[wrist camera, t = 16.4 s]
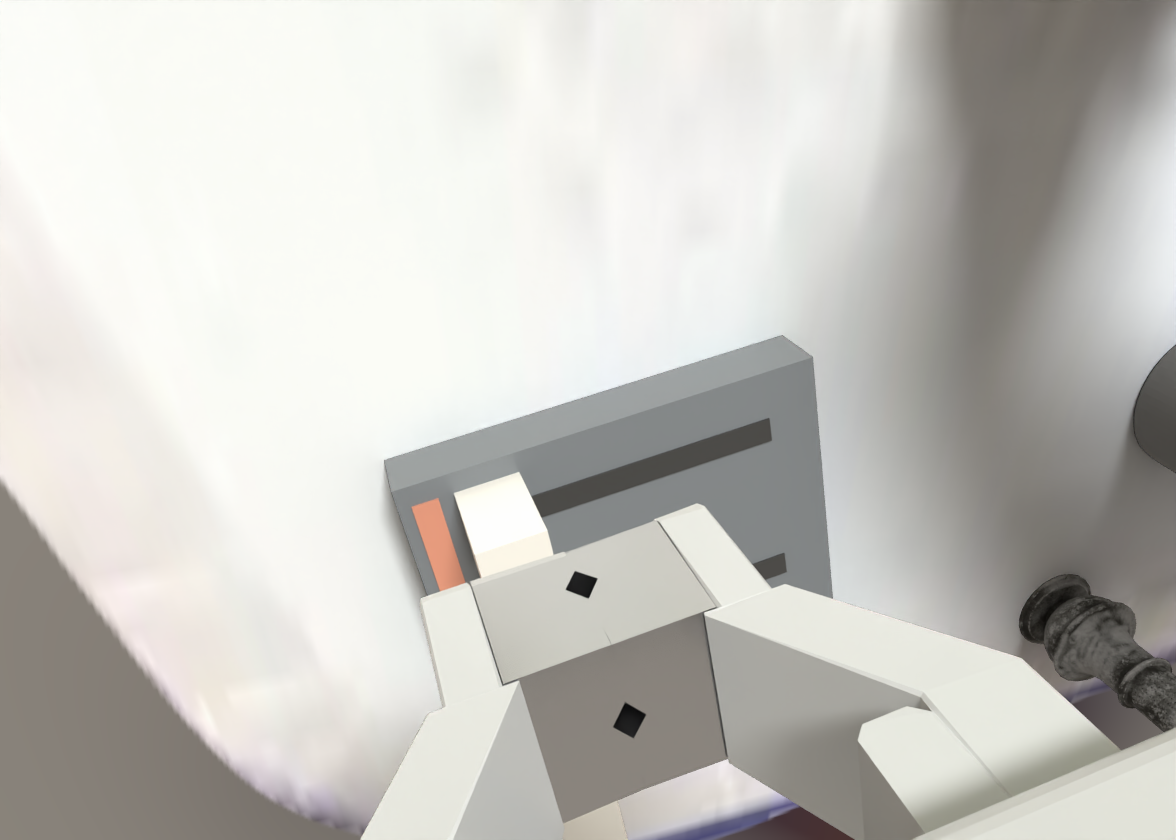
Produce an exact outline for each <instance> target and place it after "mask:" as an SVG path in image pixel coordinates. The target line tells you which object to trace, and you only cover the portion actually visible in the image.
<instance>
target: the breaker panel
mask: <svg viewBox="0 0 1176 840" xmlns="http://www.w3.org/2000/svg"><path fill="white" fill-rule="evenodd" d="M384 462H385V466H386V471H387V475H388V480H389V484H390V489H391V493H392V496H393V499H394V501H395V504H396V507H397V510H398V513H399V516H400V519H401V521H402V524H403V527H404V530H405V533H406V536H407V539H408V541H409V544H410V547H411V550H412V553H413V556H414V559H415V561H416V564H417V567H418V570H419V573H420V576H421V579H422V581H423V584H424V587H425V590H426V593H427V596H428V595H431V594H434V593H437V592H440V591H443V590H446V589H449V588H452V587H455V586H458V585H461V584H464V583H468V584H469V585H470V586H471V583H470V581H473V580H476V579H479V578H482V577H486V576H489V575H492V574H495V573H498V572H501V571H504V570H508V569H511V568H514V567H517V566H520V565H523V564H526V563H530V562H533V561H536V560H539V559H542V558H545V557H548V556H552V555H555V554H558V553H561V552H567V551H570V550H573V549H576V548H579V547H581V546H584V545H587V544H590V543H593V542H596V541H598V540H601V539H604V538H607V537H610V536H613V535H616V534H618V533H621V532H624V531H627V530H630V529H633V528H635V527H638V526H641V525H644V524H647V523H650V522H652V521H653V520H654V519H657V518H659V517H662V516H665V515H667V514H670V513H673V512H675V511H678V510H681V509H683V508H686V507H689V506H691V505H694V504H696V503H698V504H700V505H703V506H705V507H706V508H707V510H708V511H709V512H710V513H711V514H712V516H713V517H714V518H715V519H716V521H717V522H718V523H719V524H720V526H721V527H722V528H723V529H724V530H725V532H726V533H727V534H728V535H729V537H730V538H731V539H732V540H733V541H734V543H735V544H736V545H737V546H738V548H739V549H740V550H741V551H742V553H743V554H744V555H745V556H746V557H747V559H748V560H749V561H750V562H751V564H752V565H753V566H754V567H755V568H756V570H757V571H758V572H759V573H760V575H761V576H762V577H763V578H764V580H765V581H766V582H767V583H768V584H769V586H770V587H771V588H775V587H778V586H781V585H783V584H787V585H790V586H793V587H797V588H800V589H803V590H806V591H809V592H813V593H816V594H819V595H822V596H825V597H828V598H832V599H833V594H832V582H831V570H830V558H829V546H828V534H827V522H826V510H825V498H824V486H823V474H822V462H821V450H820V438H819V426H818V414H817V402H816V390H815V378H814V366H813V357H812V356H810V355H809V354H808V353H806V352H805V351H804V350H802V349H801V348H799V347H798V346H797V345H795V344H794V343H793V342H791V341H790V340H788V339H787V338H786V337H784V336H783V335H782V336H778V337H775V338H772V339H769V340H766V341H763V342H759V343H756V344H753V345H750V346H747V347H743V348H740V349H737V350H734V351H731V352H728V353H724V354H721V355H718V356H715V357H712V358H708V359H705V360H702V361H699V362H696V363H692V364H689V365H686V366H683V367H680V368H677V369H673V370H670V371H667V372H664V373H661V374H657V375H654V376H651V377H648V378H645V379H641V380H638V381H635V382H632V383H629V384H626V385H622V386H619V387H616V388H613V389H610V390H606V391H603V392H600V393H597V394H594V395H591V396H587V397H584V398H581V399H578V400H575V401H571V402H568V403H565V404H562V405H559V406H555V407H552V408H549V409H546V410H543V411H540V412H536V413H533V414H530V415H527V416H524V417H520V418H517V419H514V420H511V421H508V422H505V423H501V424H498V425H495V426H492V427H489V428H485V429H482V430H479V431H476V432H473V433H469V434H466V435H463V436H460V437H457V438H454V439H450V440H447V441H444V442H441V443H438V444H434V445H431V446H428V447H425V448H422V449H419V450H415V451H412V452H409V453H406V454H403V455H399V456H396V457H393V458H390V459H387V460H384ZM471 589H472V586H471ZM472 592H473V590H472ZM473 596H474V593H473ZM474 599H475V596H474ZM475 602H476V600H475ZM476 605H477V603H476ZM477 608H478V606H477ZM478 611H479V609H478ZM479 614H480V612H479ZM480 617H481V615H480ZM481 620H482V619H481ZM482 623H483V622H482ZM483 626H484V625H483ZM484 629H485V628H484ZM485 632H486V631H485ZM486 636H487V634H486ZM487 639H488V638H487ZM488 642H489V641H488ZM489 645H490V644H489ZM490 648H491V647H490ZM491 651H492V650H491ZM563 825H564V828H565V829H564V833H563V837H562V840H628V838H627V835H626V831H625V827H624V823H623V819H622V815H621V811H620V808H619V804H618V800H617V801H615V802H613V803H610V804H608V805H606V806H603V807H601V808H598V809H596V810H594V811H591V812H589V813H587V814H584V815H582V816H580V817H577V818H575V819H573V820H570V821H568V822H566V823H563Z"/></svg>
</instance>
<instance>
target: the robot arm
mask: <svg viewBox="0 0 1176 840" xmlns="http://www.w3.org/2000/svg"><path fill="white" fill-rule="evenodd" d="M470 583H471V586H472V589H471V586H470V585H469V584H468V583H464V584H461V585H458V586H455V587H452V588H449V589H446V590H443V591H440V592H437V593H434V594H431V595H428V596H425V597H423V598H421V599H420V610H421V615H422V619H423V624H424V628H425V632H426V637H427V641H428V646H429V650H430V655H431V659H432V663H433V668H434V672H435V677H436V681H437V686H438V690H439V695H440V699H441V703H442V708H441V709H439V710H436V711H433V712H431V713H429V714H427V716H426V718H425V720H424V722H423V723H422V725H421V727H420V729H419V731H418V733H417V735H416V737H415V738H414V740H413V742H412V744H411V746H410V748H409V750H408V751H407V753H406V755H405V757H404V759H403V761H402V763H401V764H400V766H399V768H398V770H397V772H396V774H395V776H394V777H393V779H392V781H391V783H390V785H389V787H388V789H387V791H386V792H385V794H384V796H383V798H382V800H381V802H380V804H379V805H378V807H377V809H376V811H375V813H374V815H373V817H372V818H371V820H370V822H369V824H368V826H367V828H366V830H365V832H364V833H363V835H362V837H361V839H360V840H562V837H563V833H564V829H565V828H564V825H563V823H566V822H568V821H570V820H573V819H575V818H577V817H580V816H582V815H584V814H587V813H589V812H591V811H594V810H596V809H598V808H601V807H603V806H606V805H608V804H610V803H613V802H615V801H617V800H620V799H622V798H624V797H627V796H629V795H631V794H634V793H636V792H638V791H641V790H643V789H645V788H649V787H651V786H654V785H657V784H660V783H662V782H665V781H668V780H671V779H673V778H676V777H679V776H682V775H684V774H687V773H690V772H693V771H696V770H698V769H701V768H704V767H707V766H709V765H712V764H715V763H718V762H720V761H723V760H726V759H728V760H729V763H730V764H732V765H733V766H735V767H737V768H738V769H740V770H742V771H743V772H745V773H747V774H748V775H750V776H751V777H753V778H755V779H756V780H758V781H760V782H761V783H763V784H765V785H766V786H768V787H770V788H771V789H773V790H774V791H776V792H778V793H779V794H781V795H783V796H784V797H786V798H788V799H789V800H791V801H793V802H794V803H796V804H798V805H799V806H801V807H803V808H804V809H806V810H807V811H809V812H811V813H812V814H814V815H816V816H817V817H819V818H821V819H822V820H824V821H825V822H827V823H829V824H830V825H832V826H834V827H835V828H837V829H839V830H840V831H842V832H844V833H845V834H847V835H849V836H850V837H852V838H853V839H855V840H1176V728H1173V729H1171V730H1169V731H1166V732H1164V733H1162V734H1159V735H1157V736H1155V737H1152V738H1150V739H1147V740H1145V741H1143V742H1140V743H1138V744H1136V745H1133V746H1131V747H1129V748H1126V749H1124V750H1120V749H1119V748H1118V747H1117V746H1116V745H1115V744H1114V743H1112V741H1110V740H1109V739H1108V738H1107V737H1106V736H1105V735H1104V734H1103V733H1102V732H1101V731H1099V729H1097V728H1096V727H1095V726H1094V725H1093V724H1092V723H1091V722H1090V721H1089V720H1088V719H1087V718H1085V716H1083V715H1082V714H1081V713H1080V712H1079V711H1078V710H1077V709H1076V708H1075V707H1074V706H1073V705H1072V704H1070V703H1069V702H1068V701H1067V700H1066V699H1065V698H1064V697H1063V696H1062V695H1061V694H1060V693H1059V692H1058V691H1056V690H1055V689H1054V688H1053V687H1052V686H1051V685H1050V684H1049V683H1048V682H1047V681H1046V680H1045V679H1043V678H1042V677H1041V676H1040V675H1039V674H1038V673H1037V672H1036V671H1035V670H1034V669H1033V668H1032V667H1030V666H1029V665H1028V664H1027V663H1026V662H1025V661H1024V660H1023V659H1022V658H1020V657H1017V656H1013V655H1010V654H1007V653H1004V652H1001V651H997V650H994V649H991V648H988V647H985V646H982V645H978V644H975V643H972V642H969V641H966V640H962V639H959V638H956V637H953V636H950V635H946V634H943V633H940V632H937V631H934V630H931V629H927V628H924V627H921V626H918V625H915V624H911V623H908V622H905V621H902V620H899V619H895V618H892V617H889V616H886V615H883V614H879V613H876V612H873V611H870V610H867V609H864V608H860V607H857V606H854V605H851V604H848V603H844V602H841V601H838V600H835V599H832V598H828V597H825V596H822V595H819V594H816V593H813V592H809V591H806V590H803V589H800V588H797V587H793V586H790V585H787V584H783V585H781V586H778V587H775V588H771V587H770V586H769V584H768V583H767V582H766V581H765V580H764V578H763V577H762V576H761V575H760V573H759V572H758V571H757V570H756V568H755V567H754V566H753V565H752V564H751V562H750V561H749V560H748V559H747V557H746V556H745V555H744V554H743V553H742V551H741V550H740V549H739V548H738V546H737V545H736V544H735V543H734V541H733V540H732V539H731V538H730V537H729V535H728V534H727V533H726V532H725V530H724V529H723V528H722V527H721V526H720V524H719V523H718V522H717V521H716V519H715V518H714V517H713V516H712V514H711V513H710V512H709V511H708V510H707V508H706V507H705V506H703V505H700V504H698V503H696V504H694V505H691V506H689V507H686V508H683V509H681V510H678V511H675V512H673V513H670V514H667V515H665V516H662V517H659V518H657V519H654V520H653V521H652V522H650V523H647V524H644V525H641V526H638V527H635V528H633V529H630V530H627V531H624V532H621V533H618V534H616V535H613V536H610V537H607V538H604V539H601V540H598V541H596V542H593V543H590V544H587V545H584V546H581V547H579V548H576V549H573V550H570V551H567V552H561V553H558V554H555V555H552V556H548V557H545V558H542V559H539V560H536V561H533V562H530V563H526V564H523V565H520V566H517V567H514V568H511V569H508V570H504V571H501V572H498V573H495V574H492V575H489V576H486V577H482V578H479V579H476V580H473V581H470ZM472 590H473V592H472ZM473 593H474V596H475V599H474V596H473ZM475 600H476V602H475ZM476 603H477V605H476ZM477 606H478V608H477ZM478 609H479V611H478ZM479 612H480V614H479ZM480 615H481V617H480ZM481 619H482V620H481ZM482 622H483V623H482ZM483 625H484V626H483ZM484 628H485V629H484ZM485 631H486V632H485ZM486 634H487V636H486ZM487 638H488V639H487ZM488 641H489V642H488ZM489 644H490V645H489ZM490 647H491V648H490ZM491 650H492V651H491Z"/></svg>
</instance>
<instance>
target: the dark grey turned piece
mask: <svg viewBox="0 0 1176 840" xmlns="http://www.w3.org/2000/svg"><path fill="white" fill-rule="evenodd" d="M1090 594H1091V592H1090V588H1089V585H1088V584H1087V582H1086V581H1085V580H1084V579H1083V578H1081V577H1079V576H1078V575H1072V574H1068V575H1061V576H1058V577H1056V578H1053V579H1051V580H1049V581H1048V582H1046V583H1044V584H1043V585H1042V586H1040V587H1039V588H1038V589H1037V590H1036V591H1035V592H1034V593H1033V594H1032V595H1031V597H1030V598H1029V599H1028V600H1027V602H1026V604H1025V606H1024V607H1023V609H1022V612H1021V615H1020V622H1019V627H1020V630H1021V633H1022V635H1023V636H1024V637H1025V638H1026V639H1027V640H1029V641H1031V642H1033V643H1040V644H1041V643H1044V645H1045V648H1046V650H1047V653H1048V655H1049V657H1050V659H1051V660H1052V661H1053V663H1054V666H1055V670H1056V671H1057V672H1058V674H1059V675H1060V676H1061V677H1063V678H1065V679H1067V680H1070V681H1083V680H1088V679H1091V678H1093V677H1097V678H1099V679H1100V680H1102V681H1103V682H1104V683H1105V684H1106V685H1108V686H1109V687H1110V688H1111V689H1112V690H1113V691H1115V692H1116V693H1117V694H1118V699H1119V701H1120V703H1121V704H1122V705H1123V706H1125V707H1127V708H1136V709H1138V710H1139V711H1140V712H1141V713H1142V714H1143V715H1145V716H1146V717H1147V718H1148V719H1149V720H1150V721H1152V722H1153V723H1154V724H1155V725H1156V726H1157V727H1159V728H1160V729H1161V730H1162V731H1163V732H1166V731H1169V730H1171V729H1173V728H1176V676H1175V675H1174V674H1172V668H1171V665H1170V663H1169V662H1168V661H1167V660H1165V659H1163V658H1154V657H1153V656H1152V655H1150V654H1149V653H1148V652H1147V651H1145V650H1144V649H1143V648H1141V647H1140V646H1139V645H1138V644H1137V643H1136V642H1135V641H1134V640H1133V637H1134V634H1135V629H1136V619H1135V614H1134V613H1133V611H1132V610H1131V608H1130V607H1128V606H1126V605H1125V604H1123V603H1118V602H1112V601H1111V600H1109V599H1105V598H1102V597H1098V596H1092V595H1090Z"/></svg>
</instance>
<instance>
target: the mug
mask: <svg viewBox="0 0 1176 840" xmlns="http://www.w3.org/2000/svg"><path fill="white" fill-rule="evenodd" d="M1134 430H1135V435H1136V438H1137V440H1138V443H1139V444H1140V446H1141V447H1142V449H1143V450H1144V451H1145V452H1146V453H1147V454H1148V455H1149V456H1150V457H1152V458H1153V459H1154V460H1156V461H1157V462H1159V463H1160V464H1162V465H1163V466H1165V467H1167V468H1168V469H1170V470H1171V471H1173V472H1175V473H1176V345H1175V346H1174V347H1173V348H1172V349H1171V350H1170V351H1169V352H1167V353H1166V355H1165V356H1164V357H1163V358H1162V359H1161V360H1160V361H1159V362H1158V364H1157V365H1156V366H1155V368H1154V369H1153V370H1152V372H1151V373H1150V375H1149V376H1148V378H1147V380H1146V382H1145V384H1144V386H1143V388H1142V390H1141V392H1140V395H1139V397H1138V401H1137V404H1136V408H1135V414H1134Z"/></svg>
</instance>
